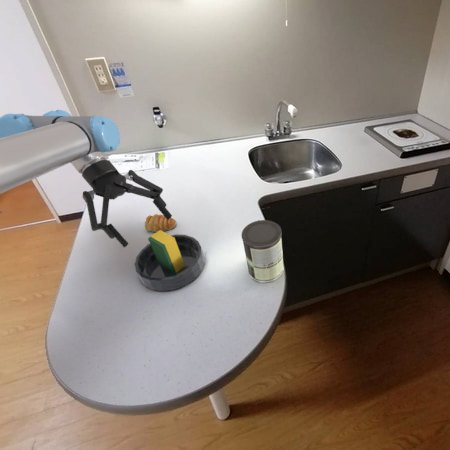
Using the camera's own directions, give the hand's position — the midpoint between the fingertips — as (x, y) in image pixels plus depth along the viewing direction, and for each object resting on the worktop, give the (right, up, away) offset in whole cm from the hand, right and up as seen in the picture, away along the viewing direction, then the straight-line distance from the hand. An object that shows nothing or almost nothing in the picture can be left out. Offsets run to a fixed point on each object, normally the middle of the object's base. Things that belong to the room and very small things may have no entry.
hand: (149, 231), depth 83 cm
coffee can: (+31, -11, +5) cm, 33 cm away
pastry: (-6, +1, +20) cm, 21 cm away
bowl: (+4, -11, +6) cm, 13 cm away
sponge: (+4, -10, +5) cm, 12 cm away
